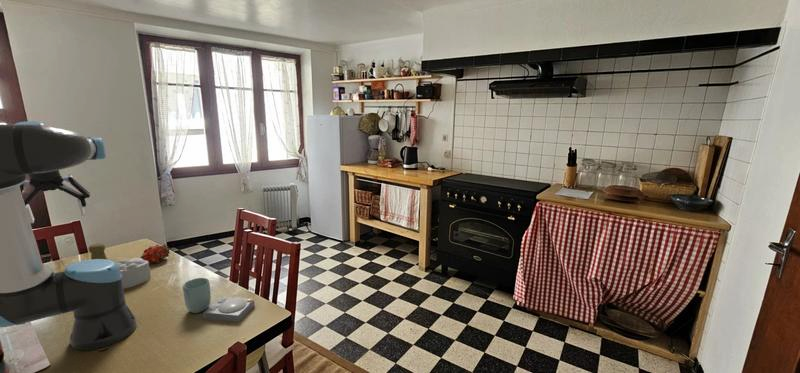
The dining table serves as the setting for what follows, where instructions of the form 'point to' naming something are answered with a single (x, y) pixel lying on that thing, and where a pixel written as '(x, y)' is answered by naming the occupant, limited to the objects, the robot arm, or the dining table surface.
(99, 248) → the cork
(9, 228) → the robot arm
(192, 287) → the cup
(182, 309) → the dining table surface
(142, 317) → the dining table surface
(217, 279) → the dining table surface
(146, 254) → the dragon fruit
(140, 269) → the white bumpy block
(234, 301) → the soap dish with soap
